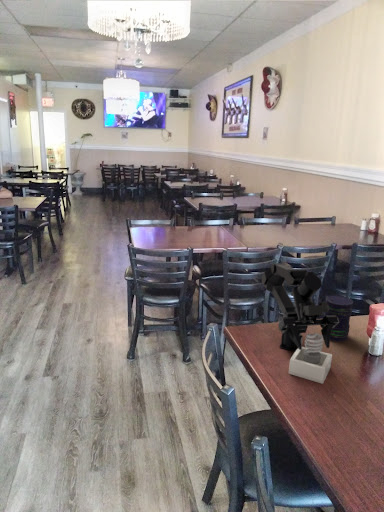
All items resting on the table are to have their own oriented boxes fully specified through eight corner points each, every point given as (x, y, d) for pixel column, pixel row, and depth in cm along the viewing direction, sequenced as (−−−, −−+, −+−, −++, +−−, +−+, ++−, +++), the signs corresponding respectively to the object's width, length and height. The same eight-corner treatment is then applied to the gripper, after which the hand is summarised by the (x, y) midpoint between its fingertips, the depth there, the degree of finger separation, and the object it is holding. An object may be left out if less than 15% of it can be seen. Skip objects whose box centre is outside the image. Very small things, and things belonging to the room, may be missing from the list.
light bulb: (310, 373, 127) (314, 338, 124) (298, 365, 132) (302, 331, 129) (323, 369, 129) (328, 335, 126) (310, 361, 134) (315, 328, 131)
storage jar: (340, 329, 161) (345, 294, 157) (353, 341, 152) (358, 304, 148) (316, 330, 160) (321, 295, 156) (328, 342, 150) (333, 305, 146)
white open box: (288, 373, 129) (289, 359, 127) (298, 359, 138) (299, 345, 136) (322, 383, 123) (324, 369, 122) (330, 368, 132) (332, 354, 131)
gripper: (284, 293, 126) (295, 342, 119) (340, 292, 129) (353, 339, 121) (274, 307, 136) (283, 352, 128) (325, 305, 139) (337, 350, 131)
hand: (314, 348), depth 127 cm, fingers open, 9 cm apart
